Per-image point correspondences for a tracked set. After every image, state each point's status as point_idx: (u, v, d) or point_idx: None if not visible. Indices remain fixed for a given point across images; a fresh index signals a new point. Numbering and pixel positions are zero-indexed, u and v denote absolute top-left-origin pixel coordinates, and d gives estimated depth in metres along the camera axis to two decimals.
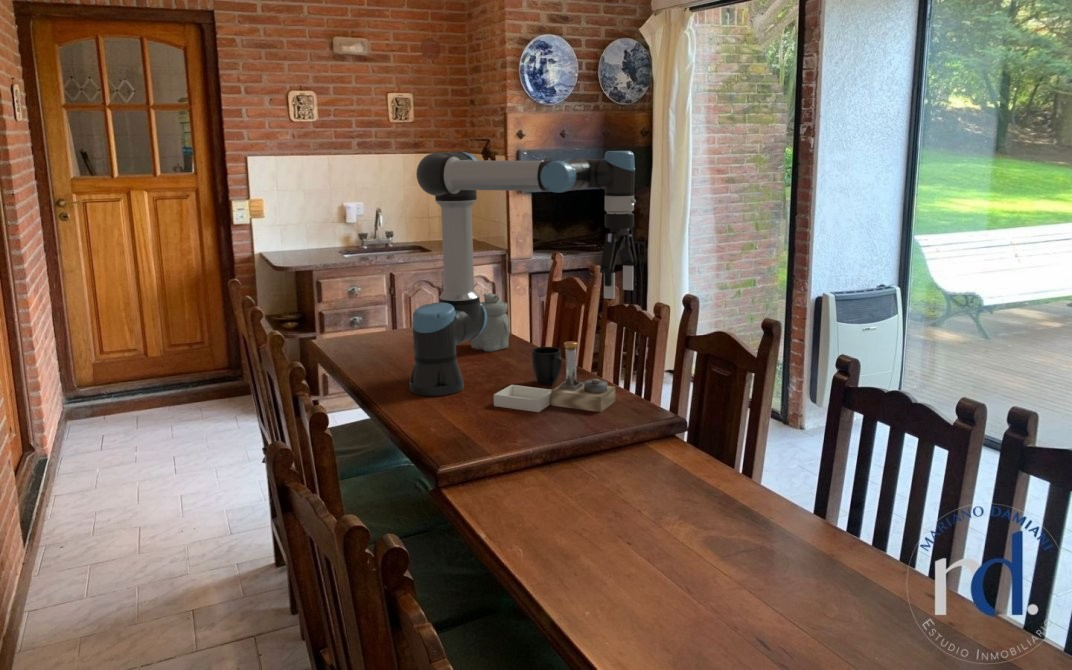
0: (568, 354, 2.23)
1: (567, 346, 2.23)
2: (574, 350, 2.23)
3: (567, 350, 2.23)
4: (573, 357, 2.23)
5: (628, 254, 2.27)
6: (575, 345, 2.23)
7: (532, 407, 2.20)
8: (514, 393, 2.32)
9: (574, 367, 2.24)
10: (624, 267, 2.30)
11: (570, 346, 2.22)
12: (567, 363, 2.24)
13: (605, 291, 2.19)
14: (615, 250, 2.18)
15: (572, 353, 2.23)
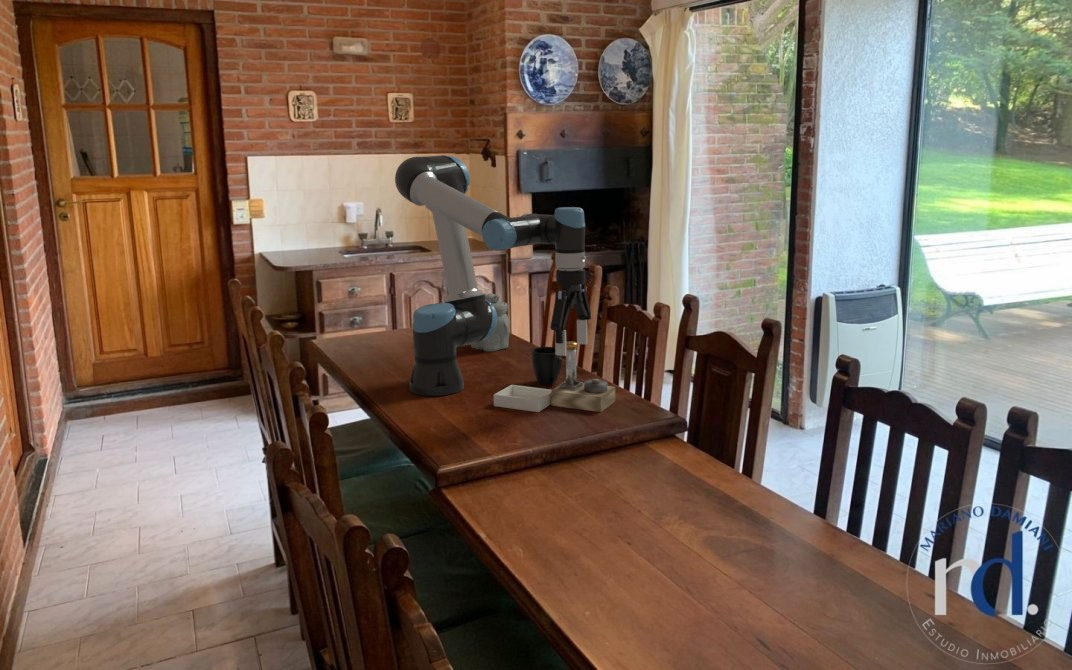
0: (568, 354, 2.23)
1: (567, 346, 2.23)
2: (574, 350, 2.23)
3: (567, 350, 2.23)
4: (573, 357, 2.23)
5: (581, 309, 2.26)
6: (575, 345, 2.23)
7: (532, 407, 2.20)
8: (514, 393, 2.32)
9: (574, 367, 2.24)
10: (578, 321, 2.29)
11: (570, 346, 2.22)
12: (567, 363, 2.24)
13: (557, 348, 2.18)
14: (566, 307, 2.17)
15: (572, 353, 2.23)
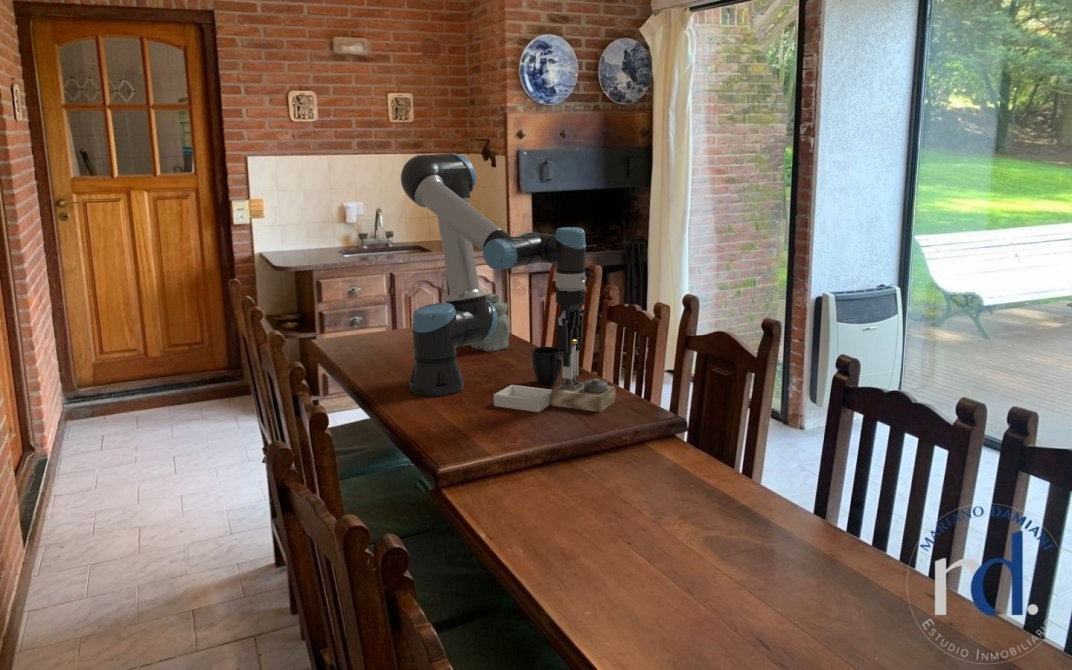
0: None
1: None
2: (573, 347, 2.23)
3: None
4: (572, 353, 2.23)
5: (575, 334, 2.25)
6: (574, 342, 2.23)
7: (532, 407, 2.20)
8: (514, 393, 2.32)
9: (573, 364, 2.24)
10: None
11: None
12: None
13: (564, 371, 2.24)
14: (568, 330, 2.21)
15: (572, 350, 2.23)
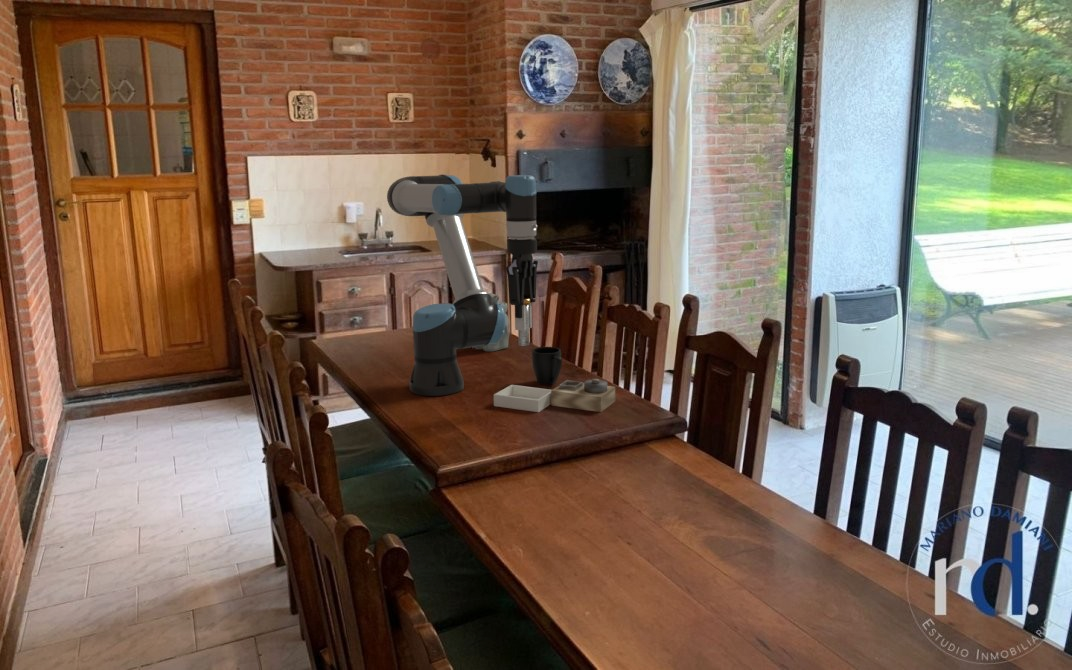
0: None
1: None
2: (526, 306, 2.19)
3: None
4: None
5: (528, 285, 2.20)
6: (527, 301, 2.19)
7: (532, 407, 2.20)
8: (514, 393, 2.32)
9: (526, 324, 2.20)
10: None
11: None
12: None
13: (516, 322, 2.20)
14: (520, 280, 2.16)
15: None
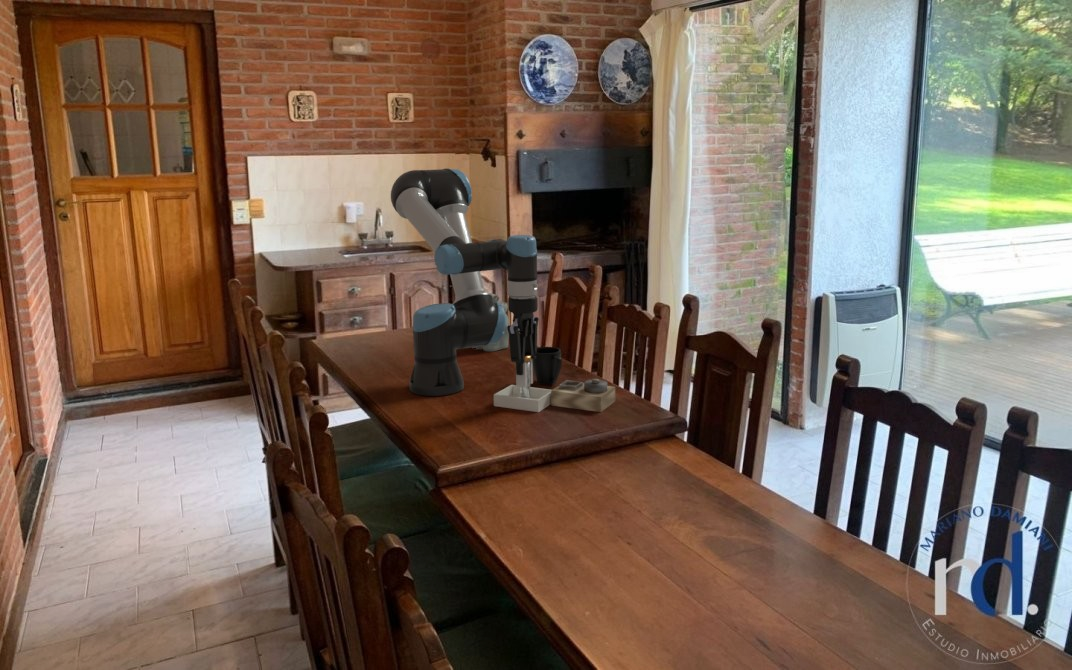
0: None
1: None
2: (527, 363, 2.23)
3: None
4: None
5: (529, 342, 2.24)
6: (528, 358, 2.22)
7: (532, 407, 2.20)
8: (514, 393, 2.32)
9: (527, 380, 2.24)
10: None
11: None
12: None
13: (518, 379, 2.23)
14: (521, 338, 2.20)
15: None
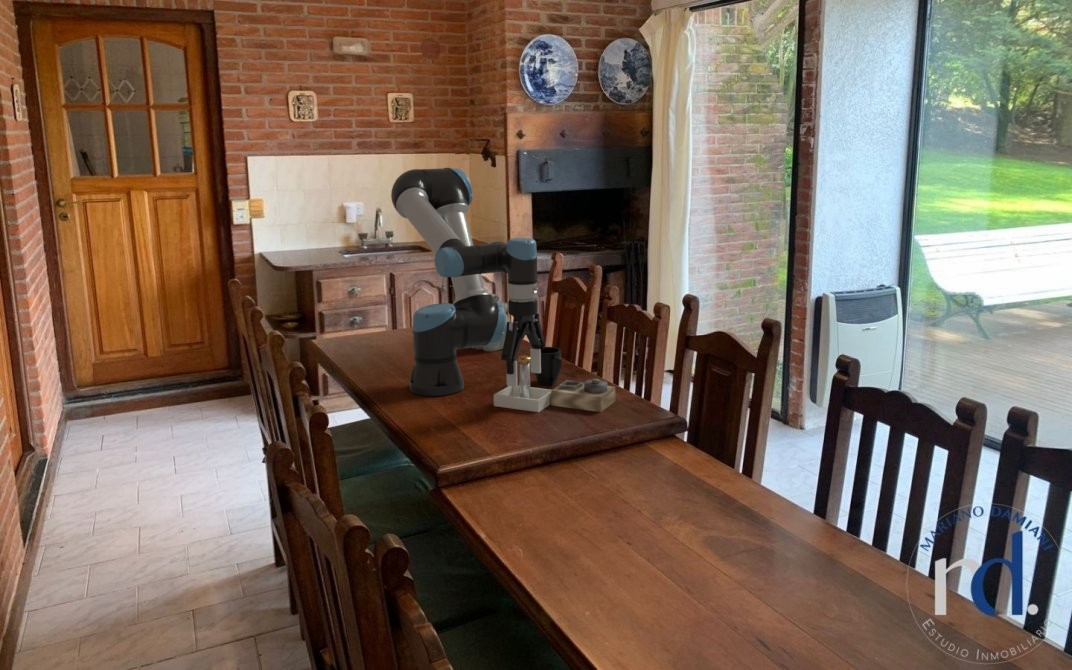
0: (521, 369, 2.23)
1: (520, 360, 2.22)
2: (527, 365, 2.23)
3: (520, 365, 2.23)
4: (526, 371, 2.23)
5: (534, 338, 2.26)
6: (528, 360, 2.22)
7: (532, 407, 2.20)
8: (514, 393, 2.32)
9: (527, 382, 2.24)
10: (531, 350, 2.30)
11: (523, 361, 2.22)
12: (520, 378, 2.24)
13: (508, 378, 2.19)
14: (517, 338, 2.18)
15: (525, 368, 2.23)
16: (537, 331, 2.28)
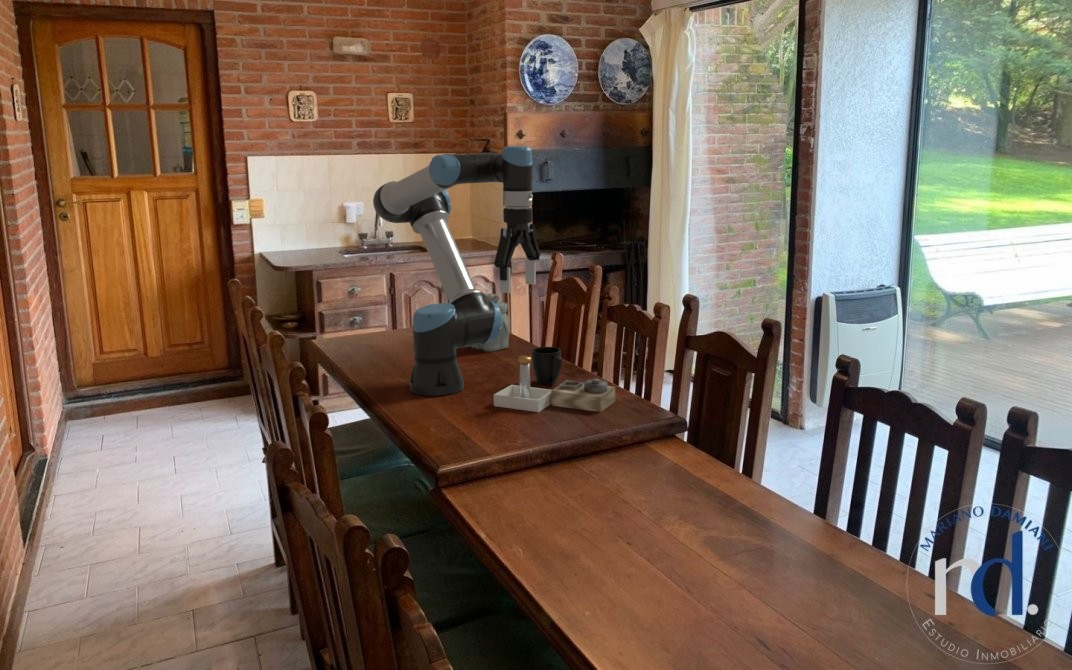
0: (521, 369, 2.23)
1: (520, 360, 2.22)
2: (527, 365, 2.23)
3: (520, 365, 2.23)
4: (526, 371, 2.23)
5: (529, 249, 2.28)
6: (528, 360, 2.22)
7: (532, 407, 2.20)
8: (514, 393, 2.32)
9: (528, 382, 2.24)
10: (526, 261, 2.31)
11: (523, 361, 2.22)
12: (520, 378, 2.24)
13: (501, 285, 2.21)
14: (511, 245, 2.20)
15: (526, 368, 2.23)
16: (532, 242, 2.30)
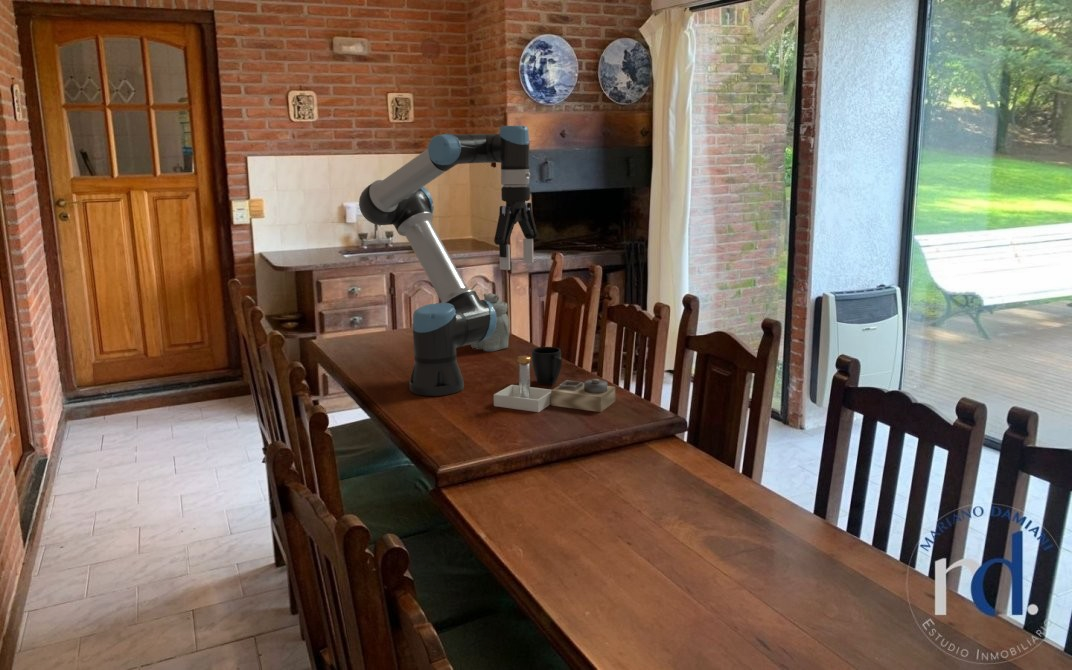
0: (521, 369, 2.23)
1: (519, 360, 2.22)
2: (527, 365, 2.23)
3: (520, 365, 2.23)
4: (526, 371, 2.23)
5: (527, 227, 2.32)
6: (528, 360, 2.22)
7: (532, 407, 2.20)
8: (514, 393, 2.32)
9: (527, 381, 2.24)
10: (524, 240, 2.35)
11: (523, 361, 2.22)
12: (520, 378, 2.24)
13: (501, 262, 2.24)
14: (510, 222, 2.24)
15: (525, 368, 2.23)
16: (530, 221, 2.34)
